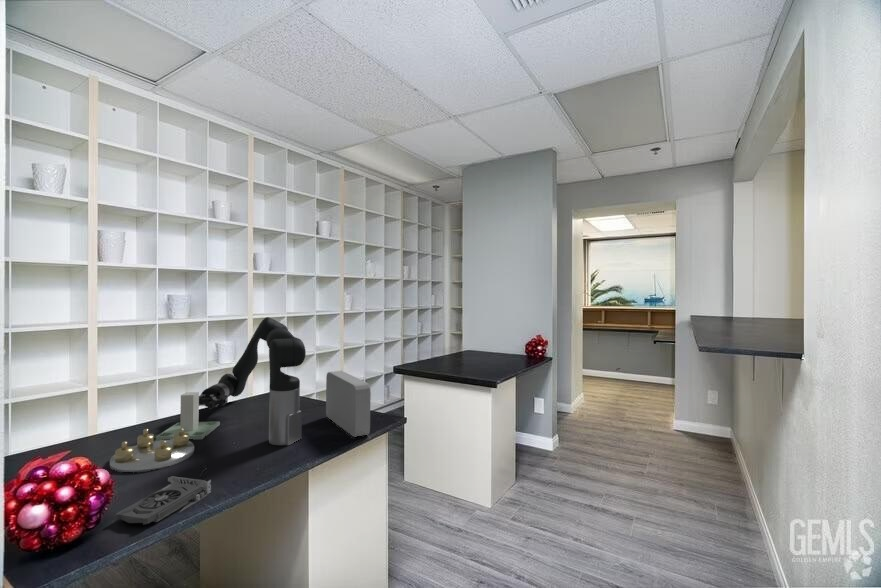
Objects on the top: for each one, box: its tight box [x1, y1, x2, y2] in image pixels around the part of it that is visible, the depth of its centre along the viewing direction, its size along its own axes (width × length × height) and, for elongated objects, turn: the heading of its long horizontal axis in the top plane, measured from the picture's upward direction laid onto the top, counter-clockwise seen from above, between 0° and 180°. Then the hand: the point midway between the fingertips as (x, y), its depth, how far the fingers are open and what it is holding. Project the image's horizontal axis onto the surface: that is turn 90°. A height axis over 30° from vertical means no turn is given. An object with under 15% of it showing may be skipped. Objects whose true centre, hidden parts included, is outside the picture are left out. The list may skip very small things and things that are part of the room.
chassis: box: [109, 428, 195, 474], centre depth 119 cm, size 20×20×6 cm
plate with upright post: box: [155, 391, 221, 441], centre depth 139 cm, size 14×14×13 cm
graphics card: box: [115, 475, 212, 526], centre depth 93 cm, size 17×4×12 cm
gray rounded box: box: [325, 370, 372, 437], centre depth 148 cm, size 29×8×18 cm, turn 35°
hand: (196, 406), depth 143 cm, fingers open, 8 cm apart
